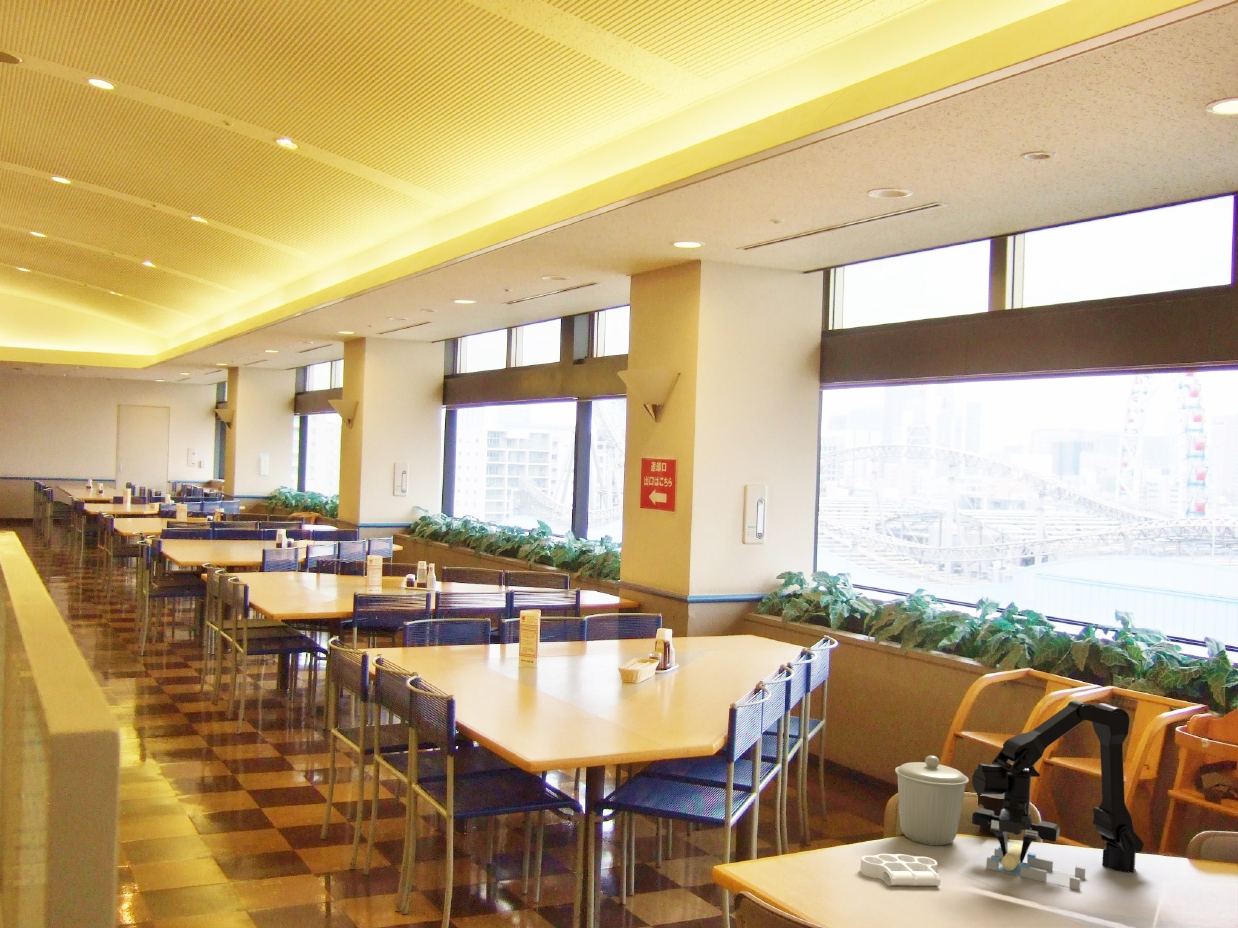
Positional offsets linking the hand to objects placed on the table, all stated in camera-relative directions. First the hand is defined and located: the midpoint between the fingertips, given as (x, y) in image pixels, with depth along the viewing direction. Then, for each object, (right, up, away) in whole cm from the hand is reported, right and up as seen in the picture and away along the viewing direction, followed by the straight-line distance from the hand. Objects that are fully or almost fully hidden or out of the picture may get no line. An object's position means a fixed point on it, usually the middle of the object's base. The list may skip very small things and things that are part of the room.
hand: (1013, 860), depth 244 cm
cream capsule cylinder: (0, -1, 0) cm, 1 cm away
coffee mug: (+6, -4, +32) cm, 33 cm away
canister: (-14, -2, +21) cm, 25 cm away
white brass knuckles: (-29, -1, -8) cm, 30 cm away
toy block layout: (+4, -3, -3) cm, 6 cm away
